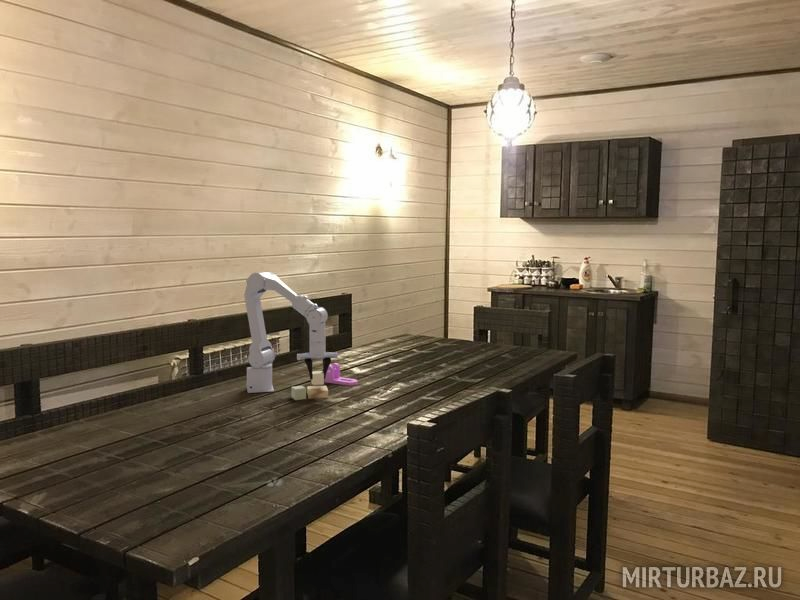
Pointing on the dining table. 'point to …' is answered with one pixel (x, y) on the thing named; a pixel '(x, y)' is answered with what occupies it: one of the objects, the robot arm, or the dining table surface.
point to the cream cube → (317, 377)
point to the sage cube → (298, 392)
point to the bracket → (337, 376)
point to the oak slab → (317, 392)
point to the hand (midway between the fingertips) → (317, 378)
